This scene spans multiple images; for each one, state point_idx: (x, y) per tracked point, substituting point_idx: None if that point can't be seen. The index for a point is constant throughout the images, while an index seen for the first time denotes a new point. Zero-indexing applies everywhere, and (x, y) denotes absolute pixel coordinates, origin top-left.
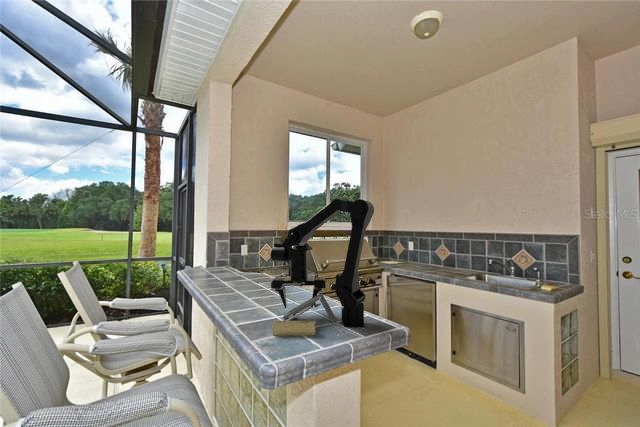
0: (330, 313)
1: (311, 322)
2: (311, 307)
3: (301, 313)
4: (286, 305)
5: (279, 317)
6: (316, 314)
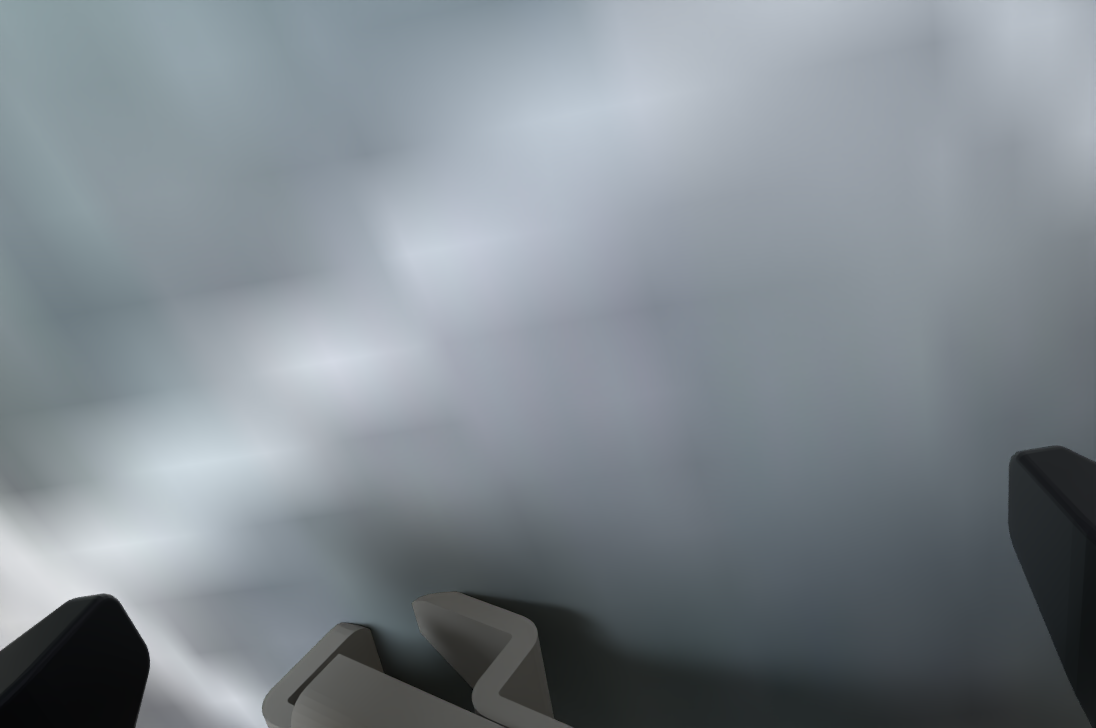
0: None
1: None
2: (1021, 563)
3: None
4: (80, 645)
5: (145, 617)
6: (1082, 259)
